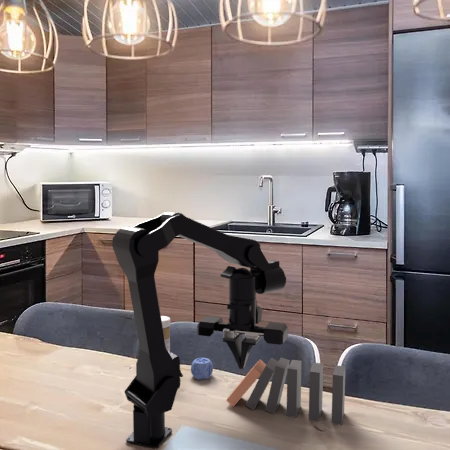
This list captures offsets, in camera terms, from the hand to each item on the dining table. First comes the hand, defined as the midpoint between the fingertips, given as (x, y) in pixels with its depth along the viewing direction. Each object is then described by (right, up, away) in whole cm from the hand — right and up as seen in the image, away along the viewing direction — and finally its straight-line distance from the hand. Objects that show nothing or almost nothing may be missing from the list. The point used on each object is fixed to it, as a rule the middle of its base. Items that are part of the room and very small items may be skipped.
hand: (241, 368), depth 103 cm
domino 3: (+6, -8, -1) cm, 10 cm away
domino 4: (+11, -8, -3) cm, 14 cm away
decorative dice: (-9, -6, +14) cm, 18 cm away
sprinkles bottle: (-20, -6, +18) cm, 27 cm away
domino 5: (+15, -8, -4) cm, 18 cm away
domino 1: (-2, -7, +1) cm, 7 cm away
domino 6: (+19, -8, -6) cm, 22 cm away
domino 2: (+2, -7, 0) cm, 8 cm away
